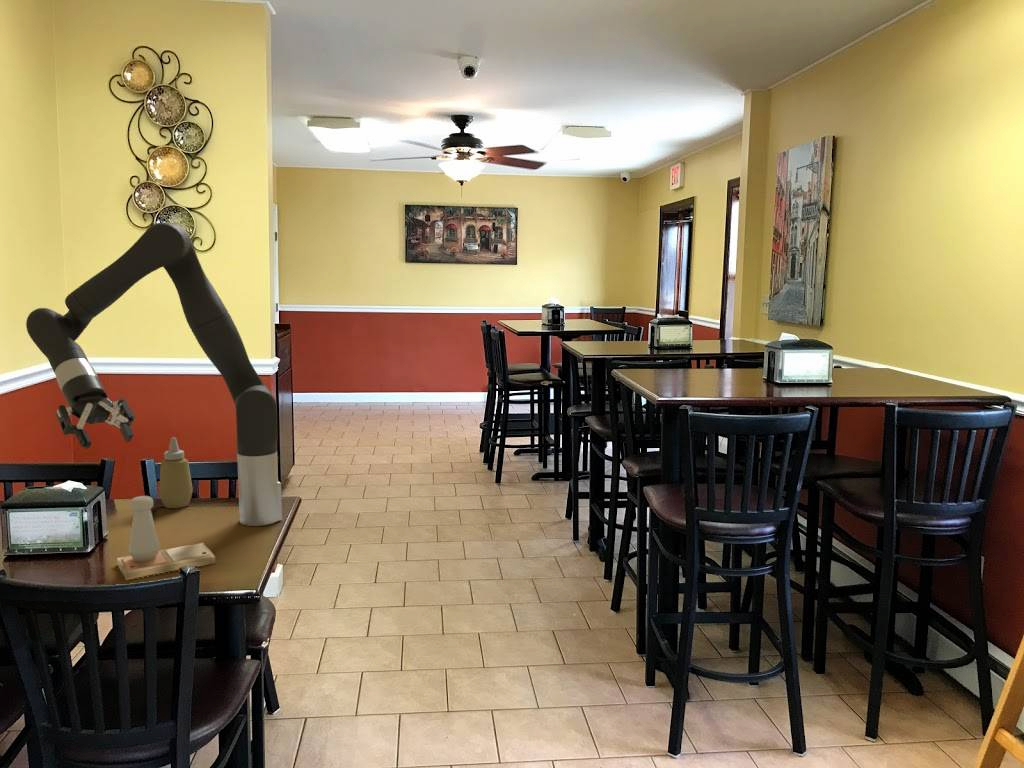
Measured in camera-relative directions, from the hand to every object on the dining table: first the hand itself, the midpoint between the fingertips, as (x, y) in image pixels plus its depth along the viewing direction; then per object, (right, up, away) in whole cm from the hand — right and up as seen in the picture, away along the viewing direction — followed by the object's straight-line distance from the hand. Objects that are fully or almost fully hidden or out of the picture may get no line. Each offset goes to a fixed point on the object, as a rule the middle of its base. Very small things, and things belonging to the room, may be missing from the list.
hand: (109, 443), depth 163 cm
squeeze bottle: (-3, -19, +39) cm, 44 cm away
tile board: (+12, -25, -1) cm, 28 cm away
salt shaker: (+9, -24, -3) cm, 26 cm away
